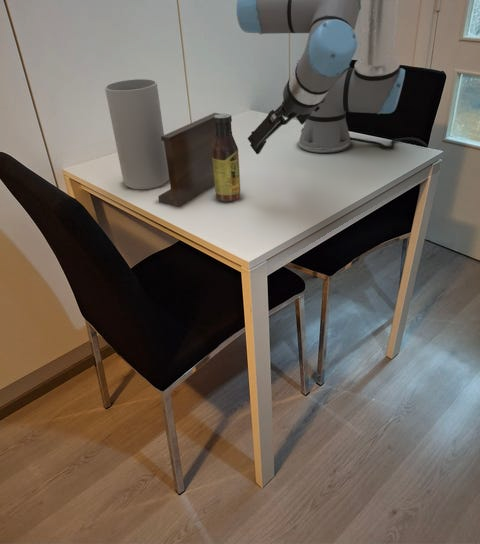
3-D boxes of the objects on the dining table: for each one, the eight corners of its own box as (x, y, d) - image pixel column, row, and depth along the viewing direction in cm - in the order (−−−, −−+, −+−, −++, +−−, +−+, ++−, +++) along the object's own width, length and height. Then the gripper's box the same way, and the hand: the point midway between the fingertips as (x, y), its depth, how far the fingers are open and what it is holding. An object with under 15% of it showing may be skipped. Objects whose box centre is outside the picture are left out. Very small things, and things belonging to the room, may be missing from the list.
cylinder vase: (162, 191, 125) (146, 90, 111) (116, 189, 127) (96, 91, 114) (175, 172, 135) (163, 78, 122) (133, 172, 138) (116, 79, 124)
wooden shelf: (226, 177, 130) (221, 113, 121) (178, 207, 116) (169, 137, 107) (207, 173, 133) (201, 111, 124) (158, 202, 119) (147, 134, 110)
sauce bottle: (238, 203, 116) (232, 120, 106) (212, 202, 118) (205, 120, 107) (243, 192, 122) (238, 111, 111) (219, 191, 123) (212, 112, 112)
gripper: (343, 41, 95) (307, 95, 116) (244, 104, 89) (225, 148, 110) (365, 72, 95) (326, 120, 116) (268, 136, 89) (245, 175, 110)
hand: (277, 134), depth 113 cm, fingers open, 13 cm apart
